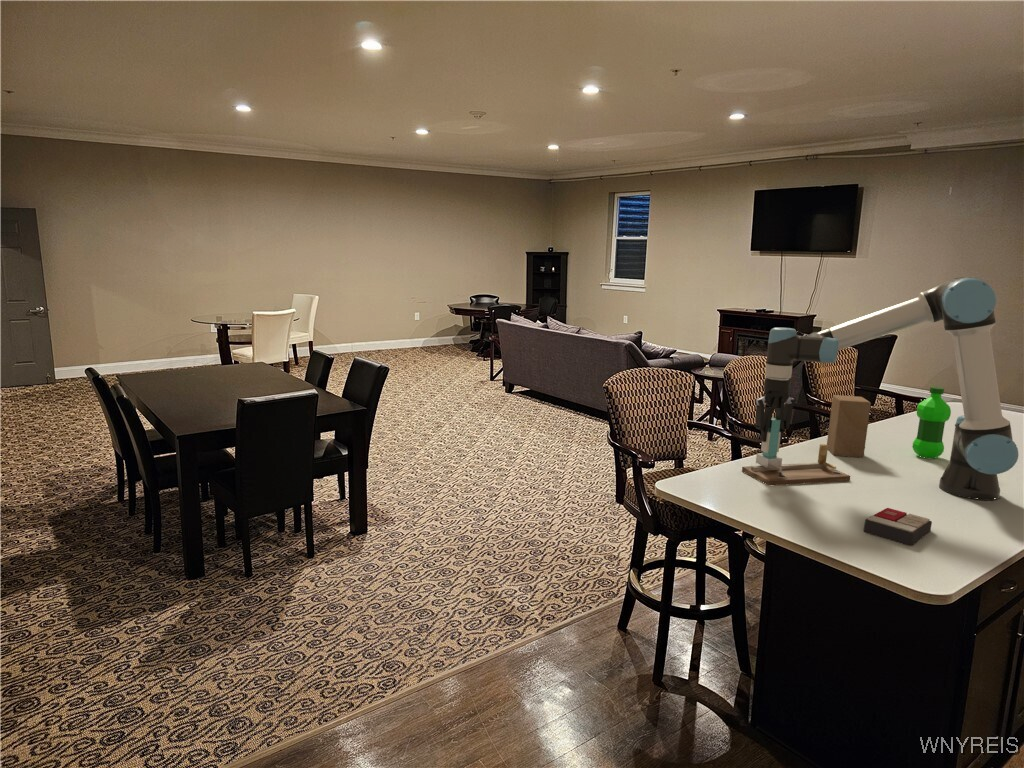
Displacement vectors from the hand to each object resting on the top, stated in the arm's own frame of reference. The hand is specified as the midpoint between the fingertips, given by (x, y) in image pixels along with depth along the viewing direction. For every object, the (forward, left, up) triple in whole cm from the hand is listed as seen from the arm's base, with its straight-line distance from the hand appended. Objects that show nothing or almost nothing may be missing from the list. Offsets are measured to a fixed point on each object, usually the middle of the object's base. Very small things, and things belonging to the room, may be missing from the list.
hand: (769, 451), depth 209 cm
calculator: (-46, -5, -8) cm, 47 cm away
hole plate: (-3, -8, -8) cm, 11 cm away
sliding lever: (-2, 0, -6) cm, 6 cm away
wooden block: (+17, -44, -8) cm, 48 cm away
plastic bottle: (+8, -71, -8) cm, 72 cm away
